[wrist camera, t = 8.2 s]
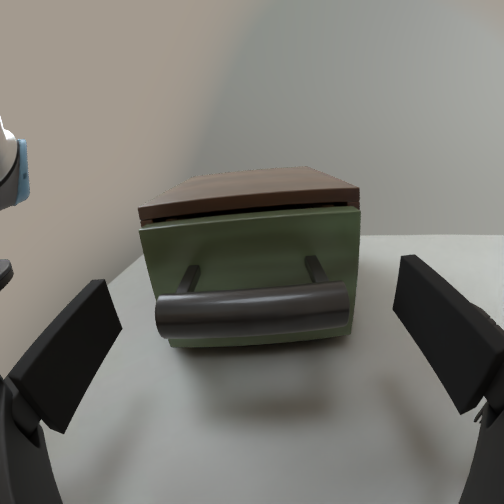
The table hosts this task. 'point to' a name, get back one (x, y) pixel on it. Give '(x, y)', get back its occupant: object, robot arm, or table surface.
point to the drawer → (254, 274)
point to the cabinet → (249, 192)
